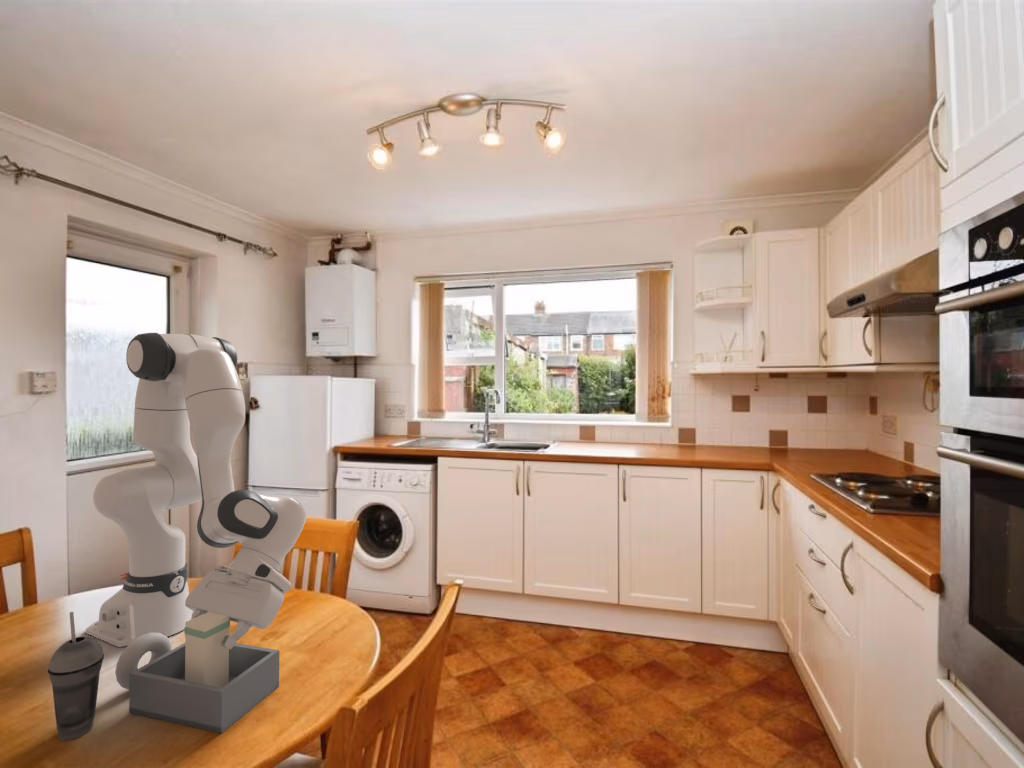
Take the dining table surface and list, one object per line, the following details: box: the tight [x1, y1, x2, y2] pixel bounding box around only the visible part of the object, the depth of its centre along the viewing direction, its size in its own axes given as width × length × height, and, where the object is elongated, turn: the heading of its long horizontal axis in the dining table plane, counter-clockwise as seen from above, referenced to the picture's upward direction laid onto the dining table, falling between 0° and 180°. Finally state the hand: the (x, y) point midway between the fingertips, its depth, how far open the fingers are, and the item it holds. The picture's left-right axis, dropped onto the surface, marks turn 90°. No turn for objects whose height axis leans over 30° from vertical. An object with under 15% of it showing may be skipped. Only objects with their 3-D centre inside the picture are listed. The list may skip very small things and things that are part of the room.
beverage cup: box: [47, 611, 105, 741], centre depth 86 cm, size 7×7×20 cm
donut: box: [114, 632, 173, 690], centre depth 99 cm, size 10×4×10 cm, turn 159°
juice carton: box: [184, 612, 231, 688], centre depth 95 cm, size 5×5×14 cm
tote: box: [128, 642, 280, 734], centre depth 95 cm, size 20×14×7 cm
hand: (207, 642), depth 95 cm, fingers open, 8 cm apart
